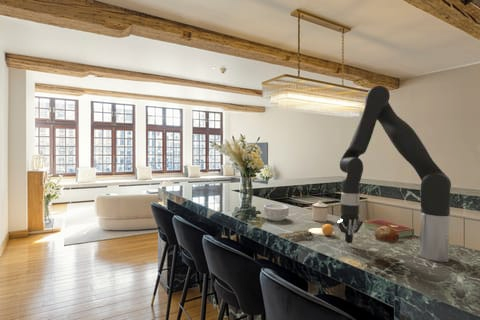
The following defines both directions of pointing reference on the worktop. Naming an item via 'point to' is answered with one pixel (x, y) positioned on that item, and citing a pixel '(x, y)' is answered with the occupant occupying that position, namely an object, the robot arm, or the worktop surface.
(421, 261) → the worktop surface
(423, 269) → the worktop surface
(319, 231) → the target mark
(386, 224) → the hardcover book
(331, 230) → the ball
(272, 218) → the paper bowls
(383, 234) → the bread roll
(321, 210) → the teacup with lid
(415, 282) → the worktop surface
